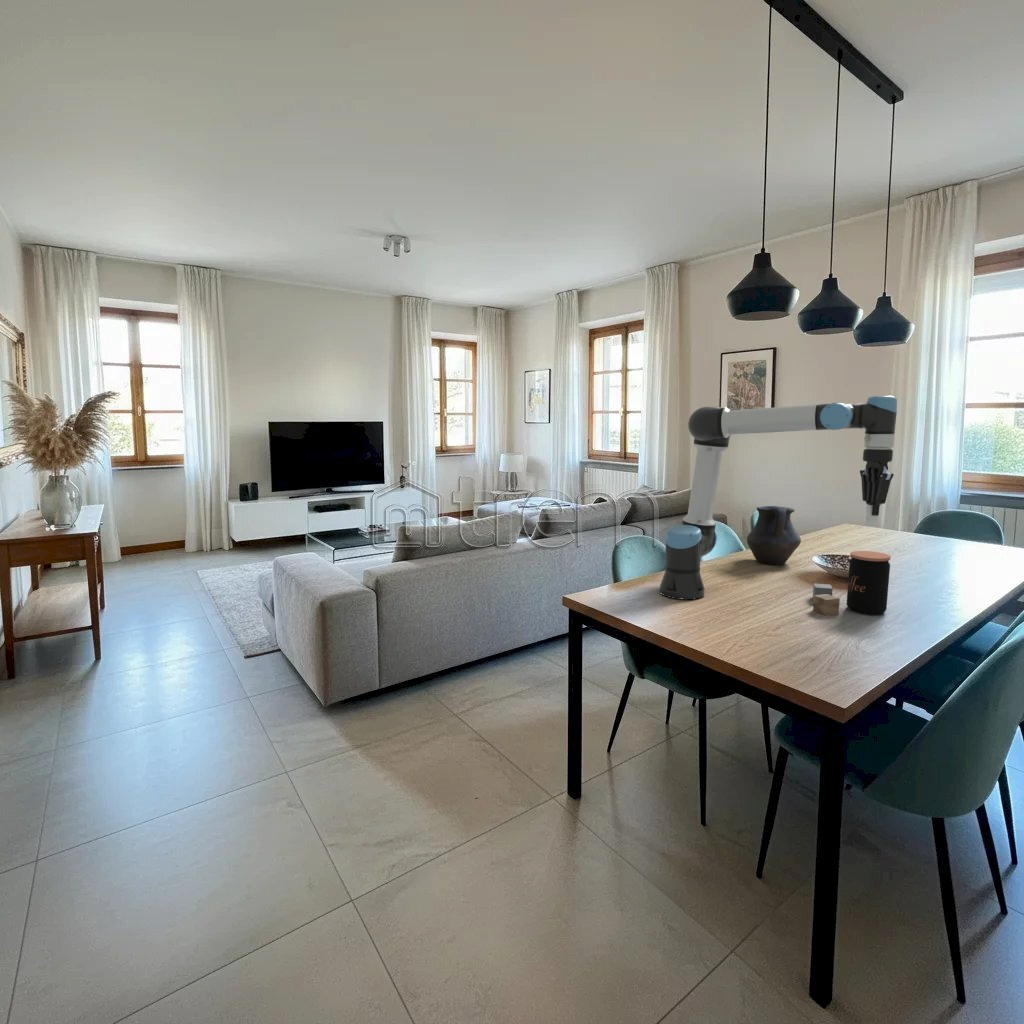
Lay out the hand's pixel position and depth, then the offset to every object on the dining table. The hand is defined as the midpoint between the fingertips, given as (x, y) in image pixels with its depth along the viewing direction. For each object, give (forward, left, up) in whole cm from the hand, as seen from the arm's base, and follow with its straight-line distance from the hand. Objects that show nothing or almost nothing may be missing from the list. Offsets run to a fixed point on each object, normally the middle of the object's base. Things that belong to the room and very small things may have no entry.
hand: (871, 525), depth 175 cm
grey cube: (-11, -8, -27) cm, 30 cm away
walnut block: (+1, -13, -27) cm, 30 cm away
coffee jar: (0, 0, -27) cm, 27 cm away
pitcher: (-63, -2, -27) cm, 68 cm away
